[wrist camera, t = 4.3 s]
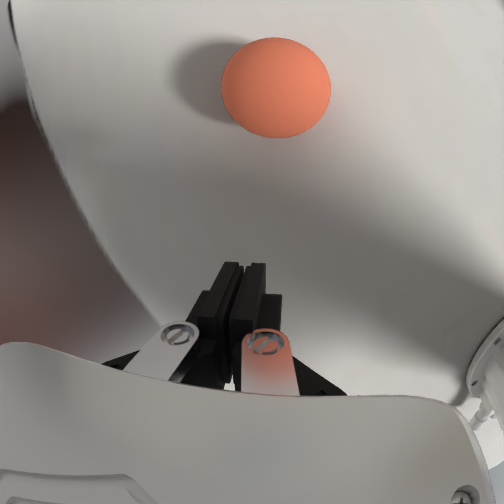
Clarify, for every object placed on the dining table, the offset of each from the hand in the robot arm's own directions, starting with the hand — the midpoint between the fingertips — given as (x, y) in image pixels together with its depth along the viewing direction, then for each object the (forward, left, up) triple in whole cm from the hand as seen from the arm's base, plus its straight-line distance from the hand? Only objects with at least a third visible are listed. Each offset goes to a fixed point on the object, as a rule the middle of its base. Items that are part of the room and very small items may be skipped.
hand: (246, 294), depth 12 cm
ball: (+9, -1, -4) cm, 10 cm away
